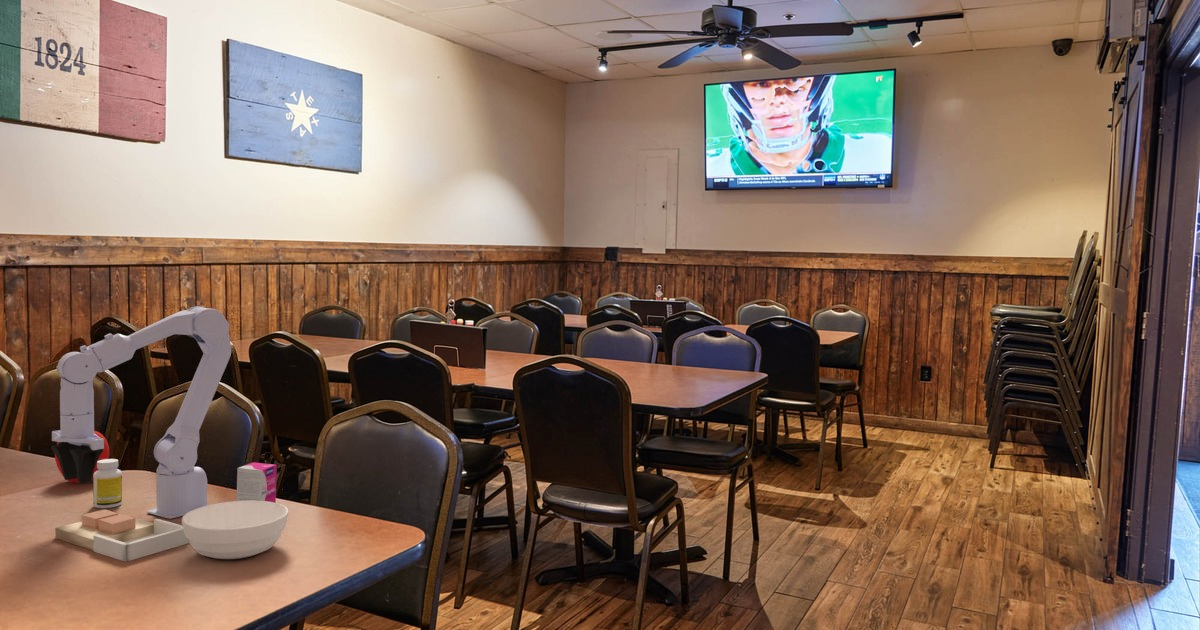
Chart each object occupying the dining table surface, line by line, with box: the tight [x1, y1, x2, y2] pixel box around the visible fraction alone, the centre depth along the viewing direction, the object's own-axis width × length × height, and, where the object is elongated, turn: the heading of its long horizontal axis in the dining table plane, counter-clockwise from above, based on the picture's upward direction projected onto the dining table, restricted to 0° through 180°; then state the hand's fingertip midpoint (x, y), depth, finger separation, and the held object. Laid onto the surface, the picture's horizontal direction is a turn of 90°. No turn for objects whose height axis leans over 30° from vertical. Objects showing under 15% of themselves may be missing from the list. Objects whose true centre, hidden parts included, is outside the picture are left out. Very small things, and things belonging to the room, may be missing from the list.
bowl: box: [181, 500, 289, 560], centre depth 161 cm, size 18×18×7 cm
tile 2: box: [99, 513, 137, 534], centre depth 166 cm, size 4×4×2 cm
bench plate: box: [54, 512, 154, 551], centre depth 168 cm, size 12×13×2 cm
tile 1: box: [81, 508, 119, 529], centre depth 169 cm, size 4×4×2 cm
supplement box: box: [236, 462, 278, 503], centre depth 181 cm, size 6×6×12 cm
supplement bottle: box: [92, 458, 123, 509], centre depth 188 cm, size 5×5×10 cm
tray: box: [93, 518, 190, 563], centre depth 163 cm, size 13×10×3 cm
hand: (77, 480), depth 172 cm, fingers open, 4 cm apart
